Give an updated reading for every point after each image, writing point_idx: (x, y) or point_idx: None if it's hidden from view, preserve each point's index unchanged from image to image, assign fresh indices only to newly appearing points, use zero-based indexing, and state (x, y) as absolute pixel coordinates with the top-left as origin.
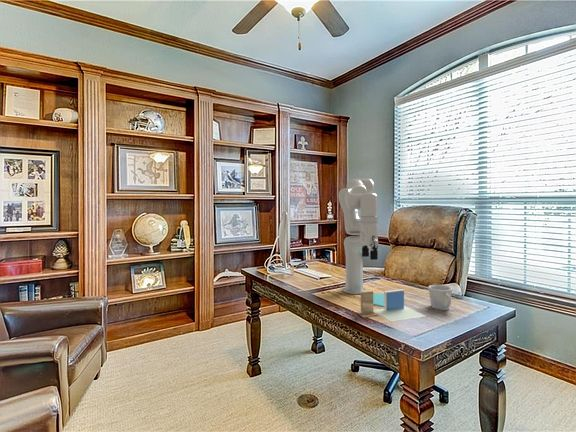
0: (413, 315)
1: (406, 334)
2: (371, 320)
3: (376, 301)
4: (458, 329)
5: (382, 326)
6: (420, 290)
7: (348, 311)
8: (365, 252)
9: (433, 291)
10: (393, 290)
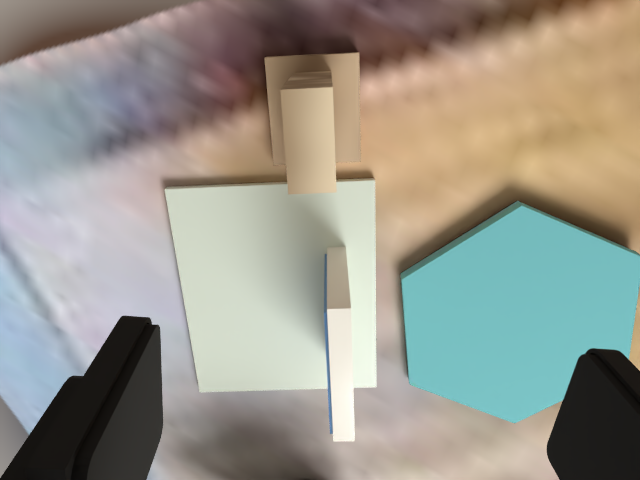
0: (225, 346)
1: (3, 179)
2: (230, 95)
3: (492, 277)
4: None
5: (126, 112)
6: None
7: (432, 17)
8: (611, 464)
9: None
10: (348, 377)
